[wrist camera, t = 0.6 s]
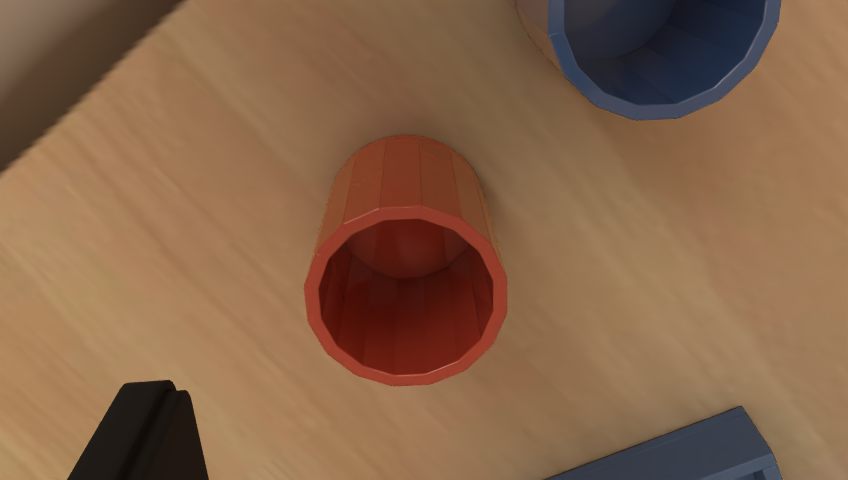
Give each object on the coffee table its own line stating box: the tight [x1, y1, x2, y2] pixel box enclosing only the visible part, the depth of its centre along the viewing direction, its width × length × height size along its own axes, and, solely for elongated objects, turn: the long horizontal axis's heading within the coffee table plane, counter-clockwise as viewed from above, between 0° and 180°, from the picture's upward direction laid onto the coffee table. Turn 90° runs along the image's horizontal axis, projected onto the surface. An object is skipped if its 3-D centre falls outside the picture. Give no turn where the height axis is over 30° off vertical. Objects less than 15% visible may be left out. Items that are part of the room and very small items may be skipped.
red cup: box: [304, 135, 507, 386], centre depth 25 cm, size 6×6×7 cm
